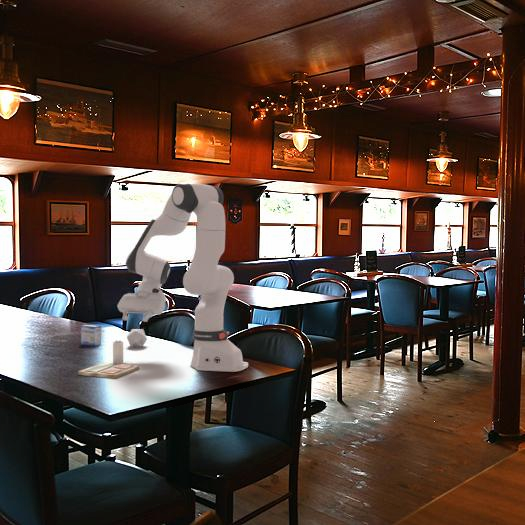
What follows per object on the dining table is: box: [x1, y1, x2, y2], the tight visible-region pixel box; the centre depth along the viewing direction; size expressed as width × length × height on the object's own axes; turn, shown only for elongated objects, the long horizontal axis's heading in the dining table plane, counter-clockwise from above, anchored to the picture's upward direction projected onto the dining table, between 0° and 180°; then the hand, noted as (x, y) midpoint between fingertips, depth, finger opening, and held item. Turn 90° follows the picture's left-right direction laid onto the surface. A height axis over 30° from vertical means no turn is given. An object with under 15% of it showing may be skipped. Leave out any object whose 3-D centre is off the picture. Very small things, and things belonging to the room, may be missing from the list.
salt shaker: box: [112, 339, 124, 364], centre depth 247 cm, size 4×4×9 cm
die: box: [126, 328, 148, 348], centre depth 282 cm, size 8×9×10 cm
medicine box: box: [80, 324, 102, 346], centre depth 286 cm, size 8×4×9 cm, turn 68°
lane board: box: [77, 362, 140, 380], centre depth 233 cm, size 16×16×2 cm
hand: (134, 320), depth 258 cm, fingers open, 8 cm apart
